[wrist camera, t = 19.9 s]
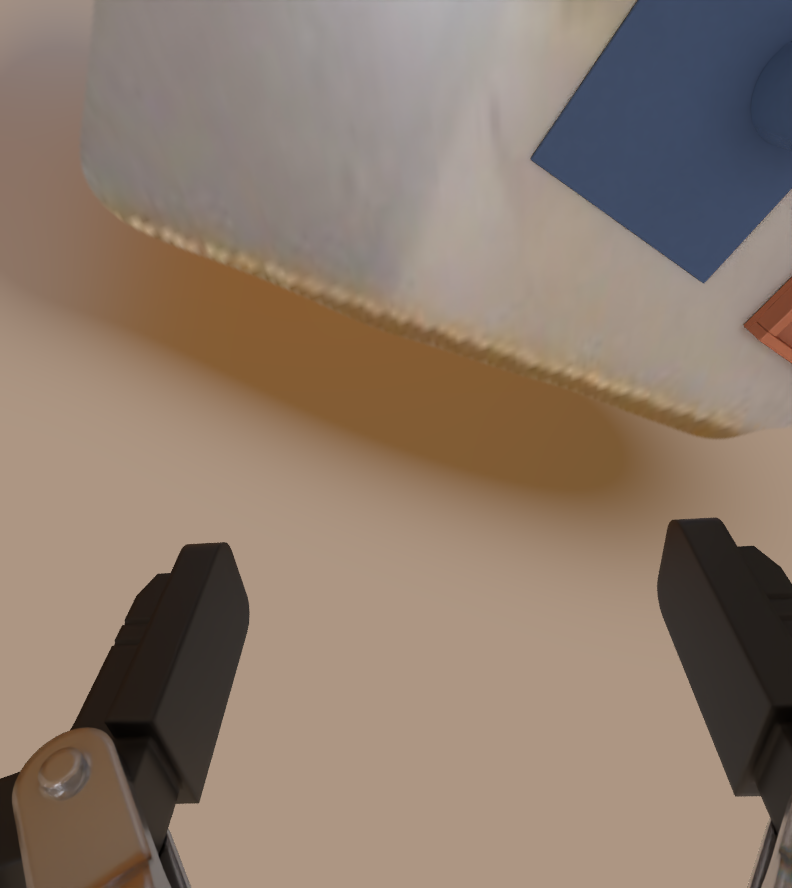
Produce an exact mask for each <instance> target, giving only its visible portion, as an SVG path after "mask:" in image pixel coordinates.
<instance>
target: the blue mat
mask: <svg viewBox="0 0 792 888" xmlns="http://www.w3.org/2000/svg"><path fill="white" fill-rule="evenodd" d="M791 41H792V0H638V1H637V2H636V4H635V5H634V7H633V8H632V10H631V11H630V12H629V14H628V15H627V17H626V18H625V20H624V21H623V23H622V24H621V26H620V27H619V29H618V30H617V32H616V33H615V35H614V36H613V38H612V39H611V40H610V42H609V43H608V45H607V46H606V48H605V49H604V51H603V52H602V54H601V55H600V57H599V58H598V60H597V61H596V63H595V64H594V66H593V67H592V69H591V70H590V71H589V73H588V74H587V76H586V77H585V79H584V80H583V82H582V83H581V85H580V86H579V88H578V89H577V91H576V92H575V94H574V95H573V97H572V98H571V99H570V101H569V102H568V104H567V105H566V107H565V108H564V110H563V111H562V113H561V114H560V116H559V117H558V119H557V120H556V122H555V123H554V125H553V126H552V128H551V129H550V130H549V132H548V133H547V135H546V136H545V138H544V139H543V141H542V142H541V144H540V145H539V147H538V148H537V150H536V151H535V153H534V154H533V156H532V157H531V160H532V161H533V162H535V163H536V164H538V165H539V166H540V167H542V168H543V169H545V170H546V171H547V172H549V173H550V174H552V175H553V176H554V177H556V178H557V179H558V180H560V181H561V182H563V183H564V184H565V185H567V186H568V187H570V188H571V189H572V190H574V191H575V192H577V193H578V194H579V195H581V196H582V197H584V198H585V199H586V200H588V201H589V202H591V203H592V204H593V205H595V206H596V207H598V208H599V209H600V210H602V211H603V212H605V213H606V214H607V215H609V216H610V217H612V218H613V219H614V220H616V221H617V222H619V223H620V224H621V225H623V226H624V227H626V228H627V229H628V230H630V231H631V232H633V233H634V234H635V235H637V236H638V237H640V238H641V239H642V240H644V241H645V242H647V243H648V244H649V245H651V246H652V247H654V248H655V249H656V250H658V251H659V252H661V253H662V254H663V255H665V256H666V257H668V258H669V259H670V260H672V261H673V262H675V263H676V264H677V265H679V266H680V267H682V268H683V269H684V270H686V271H687V272H688V273H690V274H691V275H693V276H694V277H695V278H697V279H698V280H700V281H701V282H702V283H705V282H706V281H707V280H708V278H709V277H710V276H711V275H712V274H713V273H714V272H715V271H716V270H717V269H718V268H719V267H720V265H721V264H722V263H723V262H724V261H725V260H726V259H727V258H728V257H729V256H730V255H731V254H732V252H733V251H734V250H735V249H736V248H737V247H738V246H739V245H740V244H741V243H742V242H743V241H744V239H745V238H746V237H747V236H748V235H749V234H750V233H751V232H752V231H753V230H754V229H755V228H756V226H757V225H758V224H759V223H760V222H761V221H762V220H763V219H764V218H765V217H766V216H767V215H768V213H769V212H770V211H771V210H772V209H773V208H774V207H775V206H776V205H777V204H778V203H779V202H780V200H781V199H782V198H783V197H784V196H785V195H786V194H787V193H788V192H789V191H790V190H791V189H792V152H790V151H787V150H784V149H781V148H779V147H776V146H773V145H771V144H769V143H767V142H766V141H764V140H763V139H762V138H761V137H760V136H759V134H758V133H757V132H756V130H755V128H754V125H753V122H752V117H751V100H752V95H753V91H754V88H755V85H756V82H757V80H758V78H759V76H760V74H761V73H762V71H763V69H764V68H765V66H766V65H767V63H768V62H769V61H770V60H771V59H772V57H773V56H774V55H775V54H776V53H777V52H778V51H779V50H780V49H781V48H783V47H784V46H785V45H787V44H788V43H789V42H791Z"/></svg>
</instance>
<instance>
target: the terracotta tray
mask: <svg viewBox="0 0 792 888" xmlns="http://www.w3.org/2000/svg"><path fill="white" fill-rule="evenodd" d="M744 327H745V328H746V329H748V330H749V331H750V332H751V333H752V334H753V335H754V336H755V337H756V338H757V339H758V340H759V341H761V342H762V343H764V344H765V345H766V346H768V347H769V348H771V349H772V350H773V351H775V352H776V353H778V354H779V355H781V356H782V357H783V358H785V359H786V360H788V361H789V362H791V363H792V277H791V278H790V279H789V280H788V281H787V282H786V283H785V284H784V285H783V286H782V287H781V288H780V289H779V290H778V291H777V292H776V293H775V294H774V295H773V296H772V297H771V298H770V299H769V300H768V301H767V302H766V303H765V304H764V305H763V306H762V307H761V308H760V309H759V310H758V311H757V312H756V313H755V314H754V315H753V316H752V317H751V318H750V319H749V320H748V321H747V322H746V323H745V324H744Z"/></svg>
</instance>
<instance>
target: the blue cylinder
mask: <svg viewBox="0 0 792 888" xmlns="http://www.w3.org/2000/svg"><path fill="white" fill-rule="evenodd" d="M751 117H752V122H753V125H754V128H755V130H756V132H757V133H758V134H759V136H760V137H761V138H762V139H763V140H764V141H766V142H767V143H769V144H771V145H773V146H776V147H779V148H781V149H784V150H787V151H790V152H792V41H791V42H789V43H788V44H787V45H785V46H784V47H783V48H781V49H780V50H779V51H778V52H777V53H776V54H775V55H774V56H773V57H772V59H771V60H770V61H769V62H768V63H767V65H766V66H765V68H764V69H763V71H762V73H761V74H760V76H759V78H758V80H757V82H756V85H755V88H754V91H753V95H752V100H751Z"/></svg>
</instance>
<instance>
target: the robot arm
mask: <svg viewBox="0 0 792 888" xmlns="http://www.w3.org/2000/svg"><path fill="white" fill-rule="evenodd" d="M657 591H658V600H659V606H660V609H661V613H662V616H663V618H664V621H665V623H666V626H667V628H668V631H669V633H670V636H671V638H672V641H673V643H674V646H675V648H676V650H677V653H678V655H679V658H680V660H681V663H682V665H683V668H684V670H685V673H686V675H687V678H688V680H689V683H690V685H691V688H692V690H693V693H694V695H695V698H696V700H697V703H698V705H699V708H700V710H701V713H702V715H703V718H704V720H705V723H706V725H707V727H708V730H709V732H710V735H711V737H712V740H713V743H714V745H715V747H716V750H717V752H718V755H719V757H720V760H721V762H722V765H723V767H724V770H725V772H726V775H727V777H728V780H729V782H730V785H731V787H732V790H733V792H734V795H735V796H761V797H762V799H763V802H764V804H765V806H766V809H767V811H768V813H769V815H770V819H769V821H768V823H767V826H766V829H765V832H764V835H763V839H762V842H761V845H760V848H759V851H758V855H757V858H756V861H755V865H754V867H753V871H752V874H751V877H750V880H749V883H748V887H747V888H792V584H791V582H790V580H789V579H788V577H787V576H786V574H785V573H784V571H783V570H782V568H781V567H780V566H779V565H777V564H776V563H775V562H774V561H772V560H771V559H770V558H768V557H767V556H766V555H765V554H763V553H762V552H761V551H760V550H758V549H757V548H756V547H755V546H742V547H737V545H736V544H735V542H734V540H733V539H732V537H731V535H730V534H729V532H728V530H727V529H726V527H725V525H724V524H723V522H722V521H721V520H720V519H718V518H699V519H680V520H672V521H671V522H670V523H669V525H668V529H667V534H666V539H665V544H664V549H663V555H662V560H661V565H660V570H659V575H658V582H657ZM248 625H249V602H248V597H247V594H246V592H245V589H244V585H243V582H242V579H241V576H240V574H239V571H238V568H237V565H236V562H235V559H234V556H233V553H232V550H231V548H230V546H229V545H228V544H227V543H225V542H222V543H205V544H204V543H203V544H187V545H185V546H184V547H183V548H182V549H181V551H180V553H179V556H178V558H177V560H176V562H175V565H174V567H173V569H172V571H171V573H165V574H157V575H156V576H155V577H154V578H153V579H152V580H151V581H150V583H148V585H147V586H146V587H145V588H144V589H143V590H142V591H141V592H140V593H139V594H138V595H137V596H136V598H135V600H134V602H133V604H132V606H131V608H130V610H129V612H128V615H127V616H126V619H125V625H122V627H121V629H120V631H119V633H118V635H117V637H116V639H115V645H114V646H112V647H111V650H110V651H109V653H108V655H107V657H106V659H105V662H104V663H103V666H102V668H101V670H100V672H99V674H98V676H97V678H96V680H95V682H94V684H93V686H92V688H91V690H90V692H89V694H88V696H87V698H86V700H85V702H84V704H83V707H82V709H81V711H80V713H79V715H78V717H77V719H76V721H75V723H74V724H73V726H72V728H71V729H70V731H67V732H65V733H62V734H61V735H59V736H56V737H55V738H53V739H52V740H50V741H49V742H47V743H46V744H44V745H43V746H42V747H41V748H39V749H38V750H37V751H36V752H35V753H34V754H33V755H32V756H31V758H30V759H29V760H28V761H27V763H26V764H25V765H24V767H23V768H22V770H21V771H20V772H18V773H15V774H13V775H10V776H7V777H4V778H1V779H0V888H191V885H190V883H189V880H188V877H187V875H186V872H185V869H184V867H183V864H182V861H181V859H180V856H179V853H178V851H177V848H176V846H175V843H174V840H173V838H172V835H171V832H170V831H169V829H168V827H169V823H170V820H171V817H172V814H173V811H174V807H175V804H184V803H199V801H200V798H201V794H202V791H203V787H204V783H205V780H206V777H207V773H208V769H209V766H210V762H211V759H212V755H213V752H214V748H215V745H216V741H217V737H218V733H219V730H220V727H221V723H222V719H223V716H224V712H225V709H226V705H227V702H228V698H229V695H230V691H231V688H232V684H233V680H234V677H235V673H236V670H237V666H238V663H239V659H240V656H241V652H242V648H243V645H244V641H245V638H246V634H247V630H248Z"/></svg>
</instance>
